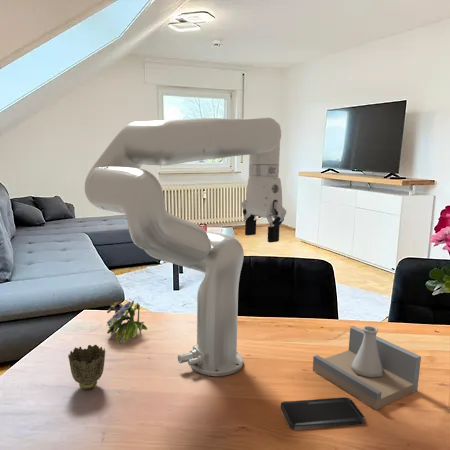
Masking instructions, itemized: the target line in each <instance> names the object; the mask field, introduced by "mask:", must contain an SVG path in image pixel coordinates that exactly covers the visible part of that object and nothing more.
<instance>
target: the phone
mask: <svg viewBox="0 0 450 450" xmlns="http://www.w3.org/2000/svg"><path fill="white" fill-rule="evenodd" d="M280 410H281V412H282V415H283V417H284V419H285V422H286V424H287V425H288V427H289V428H290V429H291V430H309V429H321V428H322V429H323V428H336V427H347V426H350V427H351V426H362V425H364V424H365V422H366V418H365V416H364V414H363V413H362V412H361V410H360V409H359V407H358V406H357V404H356V403H355V402H354V401H353V400H352V399H351V398H350V397H333V398H331V397H330V398H329V397H328V398H318V399H304V400H303V399H302V400H288V401H282V402H281V403H280Z"/></svg>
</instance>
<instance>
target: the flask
mask: <svg viewBox="0 0 450 450" xmlns="http://www.w3.org/2000/svg"><path fill="white" fill-rule="evenodd" d="M362 330H363V331H364V337H363V341H362V344H361V347H360V349H359V351H358V353H357V355H356V357H355V359H354V361H353V363H352V366H351V368H352V370H353V371H354V372H355V373H356V374H359V375H363V376H367V377H380V376H382V375H383V371H384V370H383V366H382V363H381V359H380V356H379V352H378V349H377V344H376V336H377V334H378V330H379V329H378V328H377V327H376V326H372V325H364V326H363V328H362Z"/></svg>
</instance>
